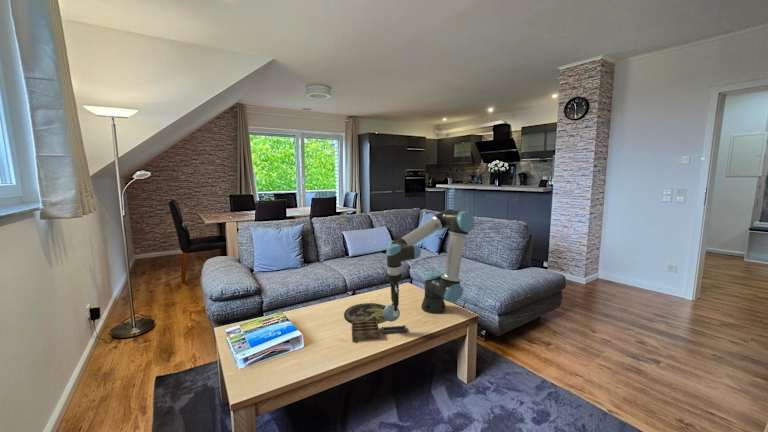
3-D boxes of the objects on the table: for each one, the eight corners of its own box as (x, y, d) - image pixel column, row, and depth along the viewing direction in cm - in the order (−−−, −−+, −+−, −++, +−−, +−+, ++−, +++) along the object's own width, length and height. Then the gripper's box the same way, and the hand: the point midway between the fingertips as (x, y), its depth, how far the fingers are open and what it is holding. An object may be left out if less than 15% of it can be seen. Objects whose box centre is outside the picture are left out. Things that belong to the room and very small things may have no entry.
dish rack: (376, 329, 180) (376, 320, 180) (379, 339, 169) (379, 330, 168) (351, 330, 179) (351, 322, 178) (352, 341, 167) (352, 332, 166)
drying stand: (404, 328, 181) (404, 325, 180) (407, 334, 175) (407, 330, 174) (381, 330, 179) (381, 326, 179) (383, 335, 173) (383, 331, 173)
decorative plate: (337, 321, 187) (352, 300, 216) (337, 324, 187) (352, 303, 216) (388, 326, 181) (396, 304, 210) (388, 329, 181) (396, 307, 210)
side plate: (402, 315, 177) (394, 301, 175) (402, 316, 176) (395, 302, 174) (387, 323, 177) (380, 309, 175) (388, 324, 175) (380, 311, 173)
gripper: (385, 269, 179) (386, 309, 182) (389, 278, 165) (390, 321, 168) (398, 268, 180) (399, 308, 183) (403, 277, 166) (404, 320, 169)
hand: (395, 315), depth 176 cm, fingers closed on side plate, 1 cm apart
